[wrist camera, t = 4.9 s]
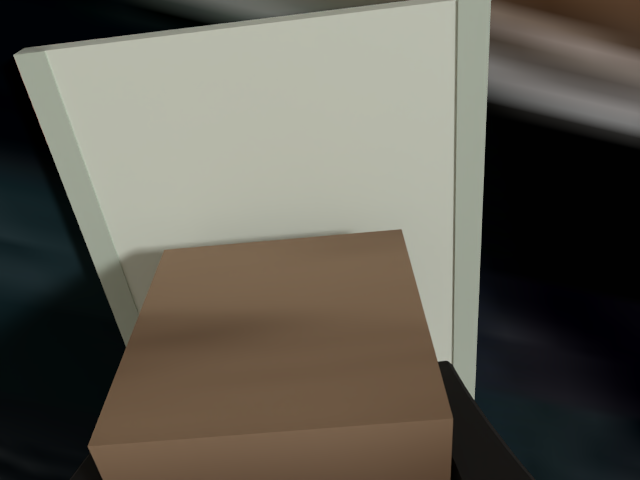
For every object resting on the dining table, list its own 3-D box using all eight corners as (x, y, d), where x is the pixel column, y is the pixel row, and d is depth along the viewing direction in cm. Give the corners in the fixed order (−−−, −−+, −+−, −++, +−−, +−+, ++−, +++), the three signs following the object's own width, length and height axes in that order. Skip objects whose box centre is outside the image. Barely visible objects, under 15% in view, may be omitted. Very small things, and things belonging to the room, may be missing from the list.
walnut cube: (404, 398, 15) (443, 609, 10) (209, 413, 15) (169, 626, 11) (401, 228, 12) (453, 418, 8) (164, 249, 12) (88, 446, 8)
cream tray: (466, 460, 18) (471, 475, 18) (188, 487, 19) (186, 502, 18) (483, -9, 11) (490, -4, 11) (25, 48, 11) (12, 54, 11)
